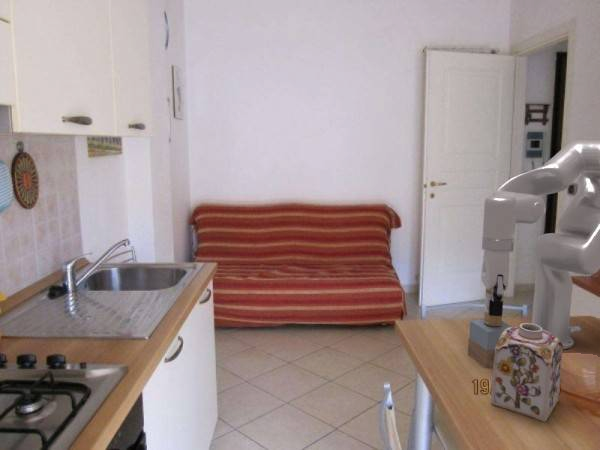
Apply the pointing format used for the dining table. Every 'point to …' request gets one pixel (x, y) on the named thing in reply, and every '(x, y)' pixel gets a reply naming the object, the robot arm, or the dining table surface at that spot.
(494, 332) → the slate top block
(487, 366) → the walnut base block
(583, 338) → the dining table surface
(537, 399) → the decorative jar
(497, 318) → the sprinkles bottle
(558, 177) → the robot arm
